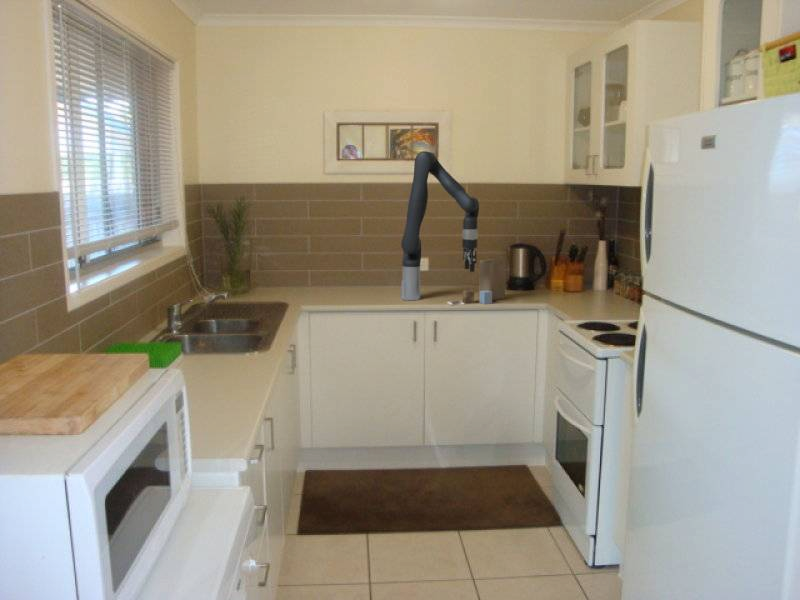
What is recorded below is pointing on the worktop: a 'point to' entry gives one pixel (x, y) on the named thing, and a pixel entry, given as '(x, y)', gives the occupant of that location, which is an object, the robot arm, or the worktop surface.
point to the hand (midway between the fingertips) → (469, 270)
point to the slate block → (485, 297)
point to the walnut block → (468, 296)
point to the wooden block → (492, 277)
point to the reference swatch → (455, 303)
